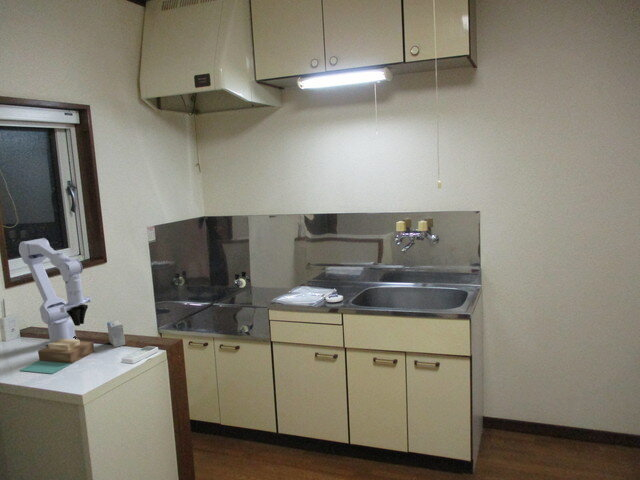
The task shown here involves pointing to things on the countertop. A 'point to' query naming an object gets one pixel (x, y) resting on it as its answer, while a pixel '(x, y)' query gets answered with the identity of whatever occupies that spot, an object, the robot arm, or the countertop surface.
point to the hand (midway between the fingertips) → (79, 324)
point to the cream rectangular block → (64, 344)
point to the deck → (66, 353)
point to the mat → (45, 367)
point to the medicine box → (116, 333)
